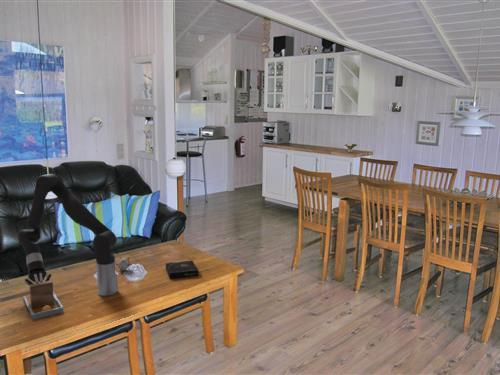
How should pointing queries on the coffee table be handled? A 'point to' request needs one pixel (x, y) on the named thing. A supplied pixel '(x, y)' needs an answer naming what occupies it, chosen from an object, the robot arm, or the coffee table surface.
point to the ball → (46, 308)
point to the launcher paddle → (41, 294)
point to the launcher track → (29, 305)
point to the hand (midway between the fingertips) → (41, 294)
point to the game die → (124, 263)
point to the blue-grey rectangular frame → (46, 313)
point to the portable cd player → (181, 269)
